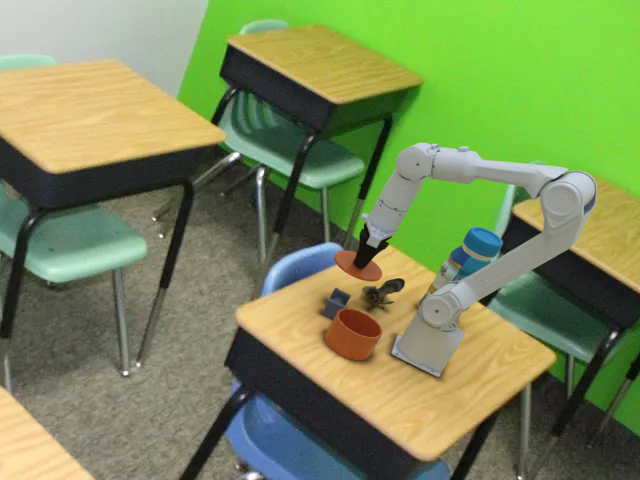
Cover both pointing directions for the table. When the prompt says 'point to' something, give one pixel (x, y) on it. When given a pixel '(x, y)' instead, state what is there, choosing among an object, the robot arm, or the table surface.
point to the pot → (353, 334)
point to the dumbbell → (336, 303)
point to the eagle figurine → (383, 292)
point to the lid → (357, 267)
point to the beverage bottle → (467, 258)
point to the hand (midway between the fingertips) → (360, 262)
